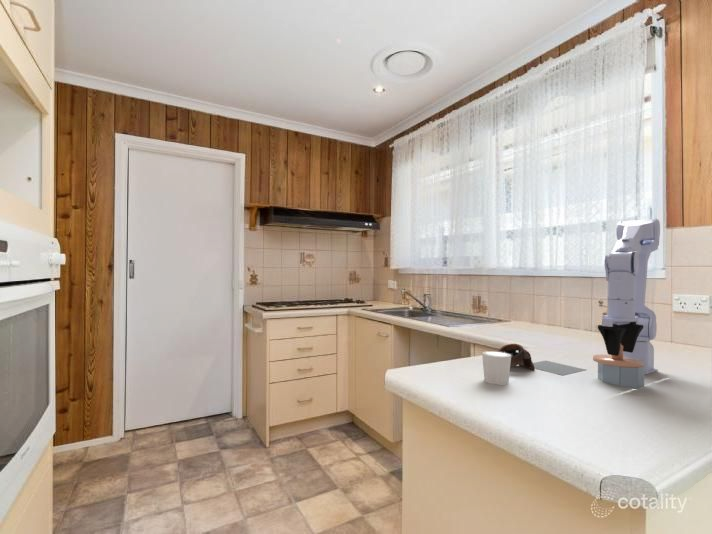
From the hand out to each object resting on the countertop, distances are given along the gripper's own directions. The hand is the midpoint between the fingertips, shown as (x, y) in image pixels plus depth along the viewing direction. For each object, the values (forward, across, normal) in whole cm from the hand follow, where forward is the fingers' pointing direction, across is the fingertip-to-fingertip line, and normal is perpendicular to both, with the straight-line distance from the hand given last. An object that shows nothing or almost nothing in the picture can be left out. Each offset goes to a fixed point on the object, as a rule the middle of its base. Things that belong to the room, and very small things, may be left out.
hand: (620, 353), depth 93 cm
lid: (+2, 0, -1) cm, 2 cm away
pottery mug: (+8, +12, -21) cm, 26 cm away
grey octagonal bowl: (+7, 0, 0) cm, 7 cm away
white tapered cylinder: (+8, +27, -16) cm, 32 cm away
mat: (+7, +2, -16) cm, 18 cm away
